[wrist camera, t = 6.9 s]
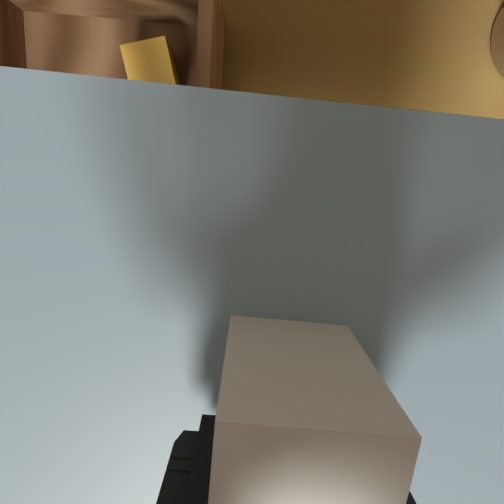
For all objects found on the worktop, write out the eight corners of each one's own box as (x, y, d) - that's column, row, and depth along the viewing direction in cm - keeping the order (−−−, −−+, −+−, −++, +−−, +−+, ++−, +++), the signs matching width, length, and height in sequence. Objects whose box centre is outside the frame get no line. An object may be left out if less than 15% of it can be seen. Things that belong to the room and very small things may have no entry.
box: (225, 21, 32) (214, -48, 23) (215, 223, 37) (202, 238, 27) (18, 3, 32) (-84, -75, 22) (33, 210, 36) (-47, 221, 26)
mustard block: (175, 53, 32) (164, 35, 28) (184, 96, 33) (176, 85, 29) (135, 61, 32) (119, 45, 28) (145, 104, 33) (131, 94, 29)
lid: (620, 143, 11) (1091, 97, 5) (470, 608, 16) (614, 890, 10) (-18, 76, 11) (-402, -71, 5) (18, 577, 16) (-144, 855, 9)
